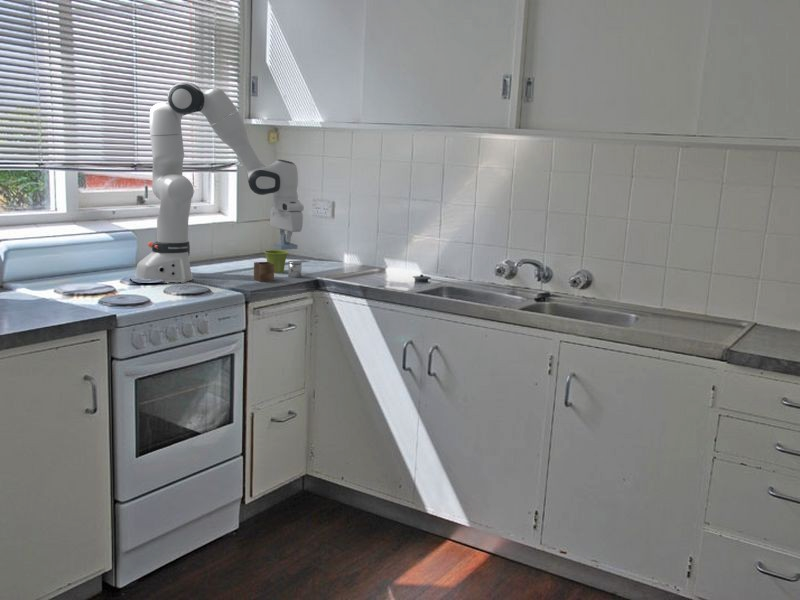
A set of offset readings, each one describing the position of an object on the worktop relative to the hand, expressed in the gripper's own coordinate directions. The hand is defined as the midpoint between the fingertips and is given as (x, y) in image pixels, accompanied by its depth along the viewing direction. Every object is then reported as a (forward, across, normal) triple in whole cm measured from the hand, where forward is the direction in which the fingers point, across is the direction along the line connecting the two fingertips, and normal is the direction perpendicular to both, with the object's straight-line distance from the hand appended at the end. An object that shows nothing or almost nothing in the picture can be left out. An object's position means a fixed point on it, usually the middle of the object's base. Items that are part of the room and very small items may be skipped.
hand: (285, 241), depth 317 cm
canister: (+15, -3, -7) cm, 17 cm away
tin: (+15, -6, +7) cm, 18 cm away
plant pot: (+16, -19, +5) cm, 25 cm away
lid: (+3, 0, 0) cm, 3 cm away
